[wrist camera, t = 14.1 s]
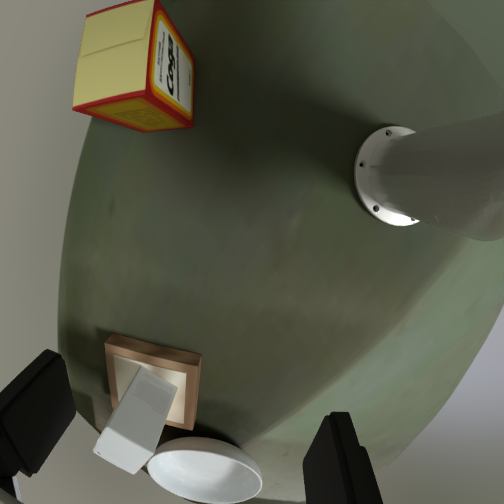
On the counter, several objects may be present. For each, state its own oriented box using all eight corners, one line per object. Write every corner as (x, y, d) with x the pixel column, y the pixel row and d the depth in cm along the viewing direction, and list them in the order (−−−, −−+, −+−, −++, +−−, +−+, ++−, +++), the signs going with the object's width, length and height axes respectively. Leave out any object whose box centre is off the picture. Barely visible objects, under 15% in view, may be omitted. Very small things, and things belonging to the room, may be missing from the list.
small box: (158, 414, 40) (133, 476, 27) (123, 394, 39) (90, 451, 27) (179, 386, 38) (155, 454, 25) (141, 363, 37) (104, 426, 25)
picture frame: (201, 354, 40) (197, 367, 37) (195, 418, 44) (192, 431, 40) (112, 333, 40) (103, 343, 37) (119, 398, 43) (112, 409, 40)
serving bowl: (141, 452, 48) (132, 475, 41) (184, 404, 43) (175, 433, 36) (226, 489, 50) (223, 512, 43) (285, 450, 45) (287, 478, 39)
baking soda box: (193, 127, 33) (143, 92, 17) (143, 132, 33) (69, 109, 18) (194, 58, 31) (153, -8, 15) (146, 65, 31) (84, 13, 15)
